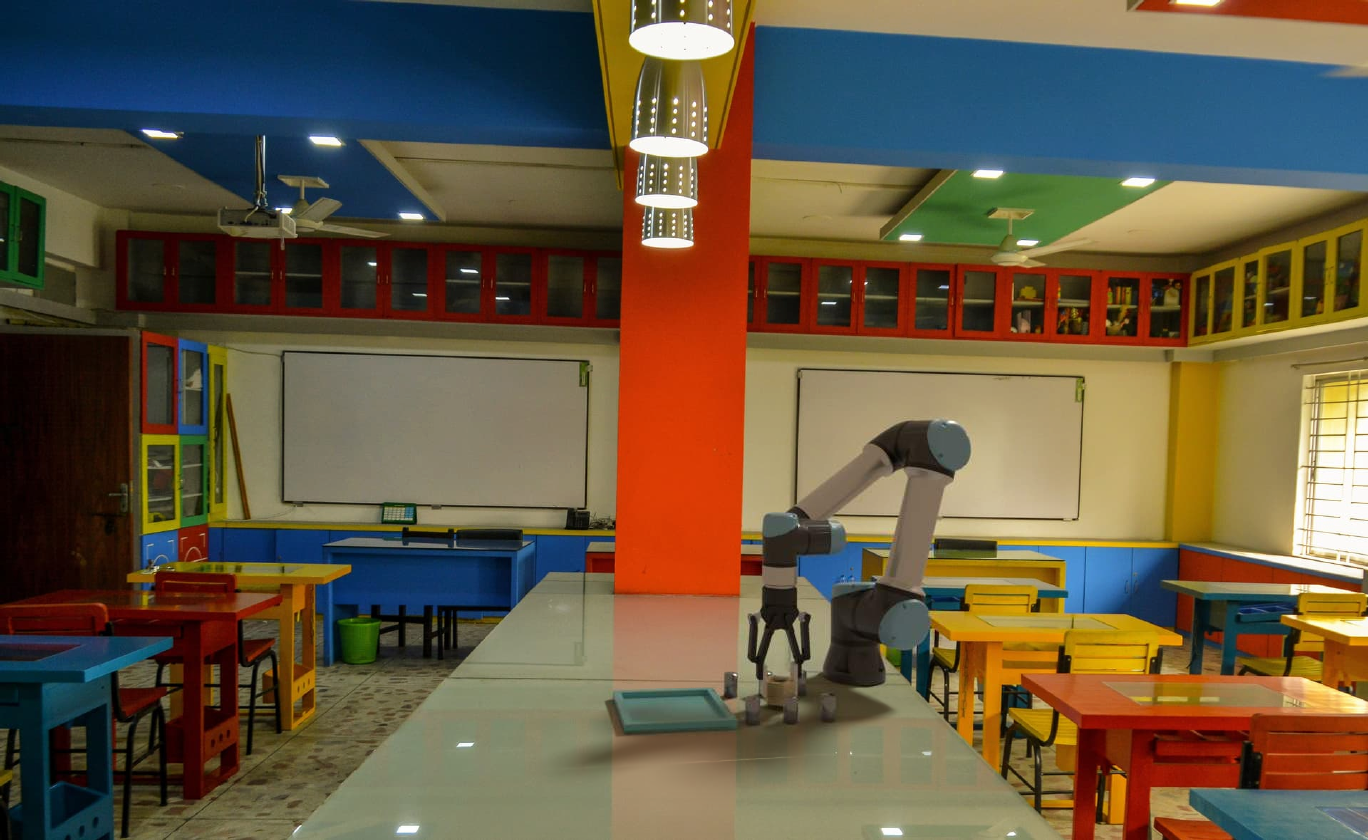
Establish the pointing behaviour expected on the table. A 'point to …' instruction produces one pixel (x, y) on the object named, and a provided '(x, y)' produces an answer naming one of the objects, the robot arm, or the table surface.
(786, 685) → the nut
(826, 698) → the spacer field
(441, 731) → the table surface
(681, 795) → the table surface
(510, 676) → the table surface
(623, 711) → the tray
